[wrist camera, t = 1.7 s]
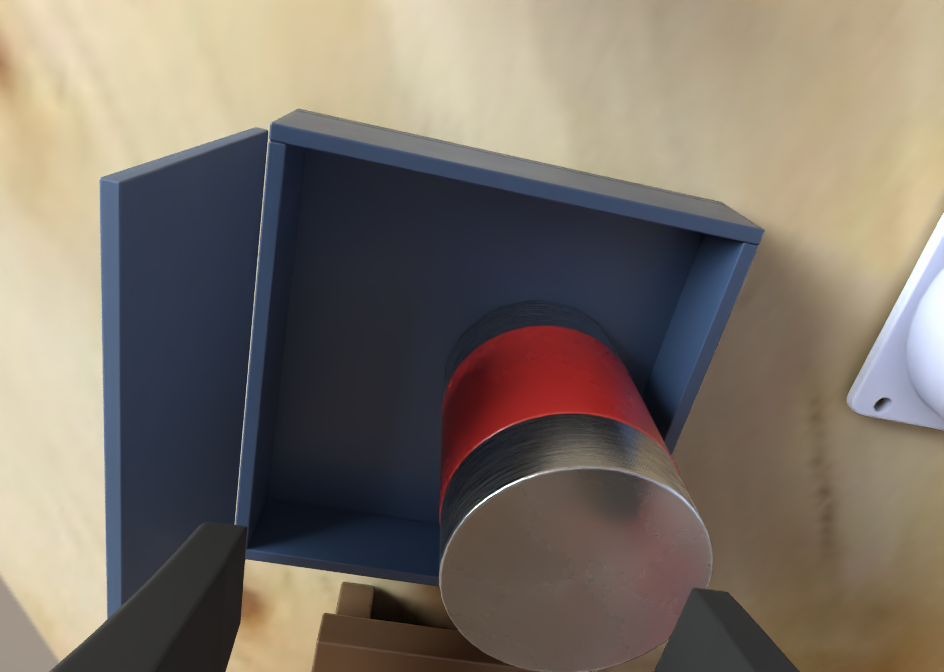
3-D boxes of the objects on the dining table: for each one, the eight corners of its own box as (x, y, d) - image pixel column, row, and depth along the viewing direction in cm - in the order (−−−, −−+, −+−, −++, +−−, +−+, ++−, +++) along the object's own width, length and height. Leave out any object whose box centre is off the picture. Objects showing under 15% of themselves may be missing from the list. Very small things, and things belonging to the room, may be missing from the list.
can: (644, 318, 19) (759, 491, 12) (591, 467, 22) (661, 689, 14) (463, 282, 19) (469, 442, 11) (427, 440, 21) (414, 657, 14)
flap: (230, 573, 19) (220, 571, 19) (268, 129, 14) (255, 126, 14) (123, 773, 14) (109, 770, 14) (120, 182, 9) (98, 177, 9)
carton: (257, 497, 22) (232, 557, 20) (297, 108, 17) (270, 121, 14) (590, 548, 24) (607, 611, 21) (723, 202, 18) (766, 230, 16)
